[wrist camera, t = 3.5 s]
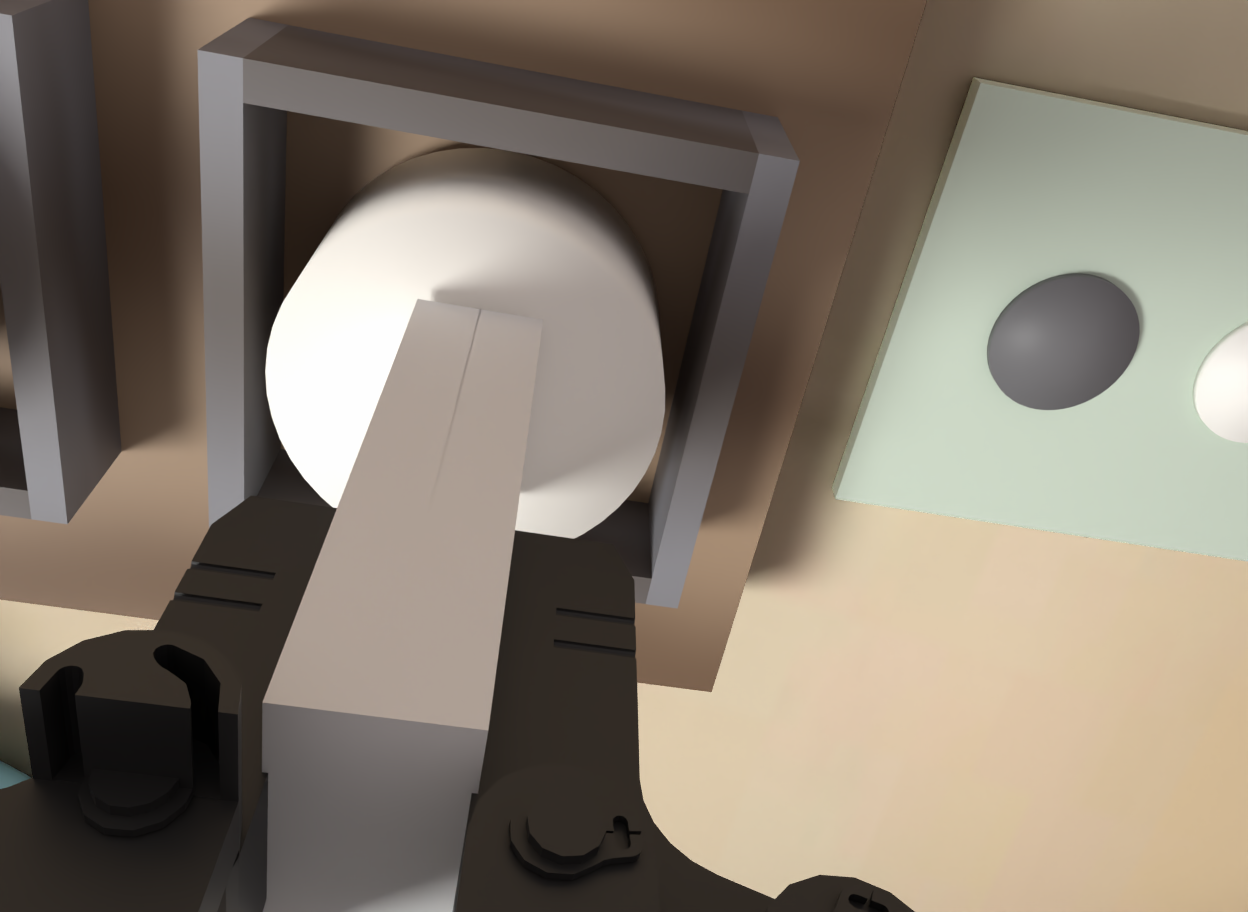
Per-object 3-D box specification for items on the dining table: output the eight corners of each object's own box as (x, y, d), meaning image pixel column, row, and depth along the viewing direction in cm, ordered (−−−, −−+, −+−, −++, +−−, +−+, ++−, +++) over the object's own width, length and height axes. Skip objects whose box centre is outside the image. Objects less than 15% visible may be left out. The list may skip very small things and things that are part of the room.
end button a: (624, 485, 17) (626, 583, 15) (308, 437, 17) (264, 532, 15) (691, 183, 15) (704, 251, 12) (319, 116, 14) (267, 174, 12)
